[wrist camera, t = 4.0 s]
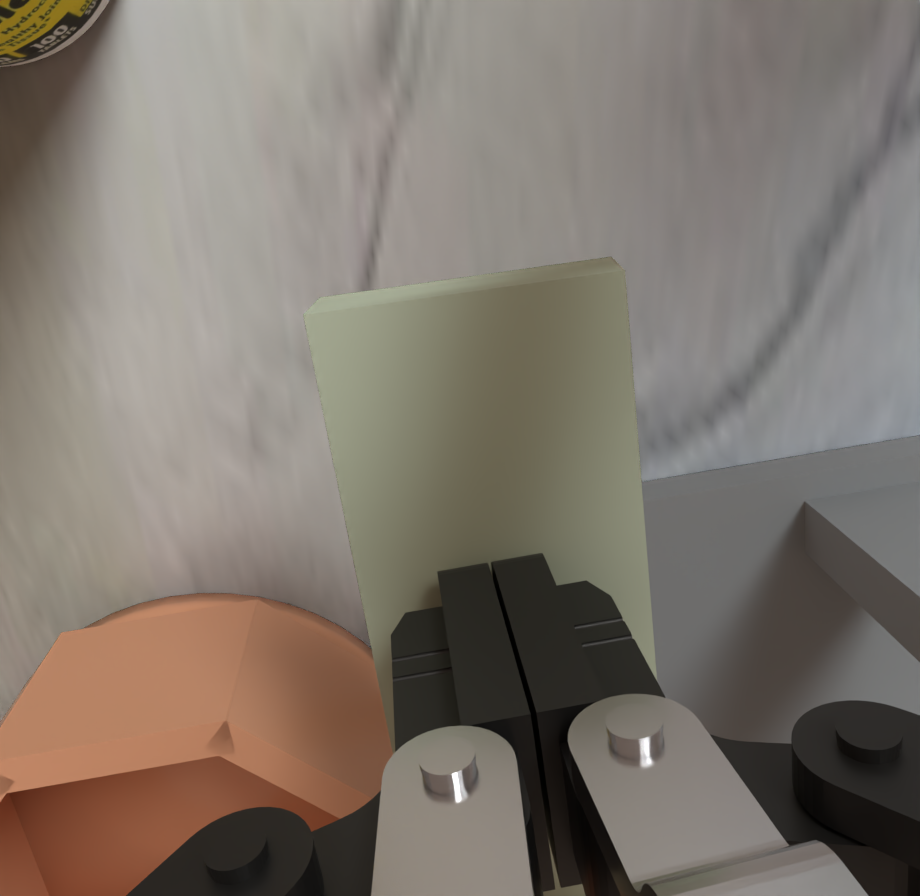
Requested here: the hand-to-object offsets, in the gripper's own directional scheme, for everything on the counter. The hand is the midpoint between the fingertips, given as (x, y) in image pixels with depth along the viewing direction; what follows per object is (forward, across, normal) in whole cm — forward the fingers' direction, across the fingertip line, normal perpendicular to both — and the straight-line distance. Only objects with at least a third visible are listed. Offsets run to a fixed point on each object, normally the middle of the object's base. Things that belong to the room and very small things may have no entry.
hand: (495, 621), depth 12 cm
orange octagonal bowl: (+11, +8, +10) cm, 16 cm away
